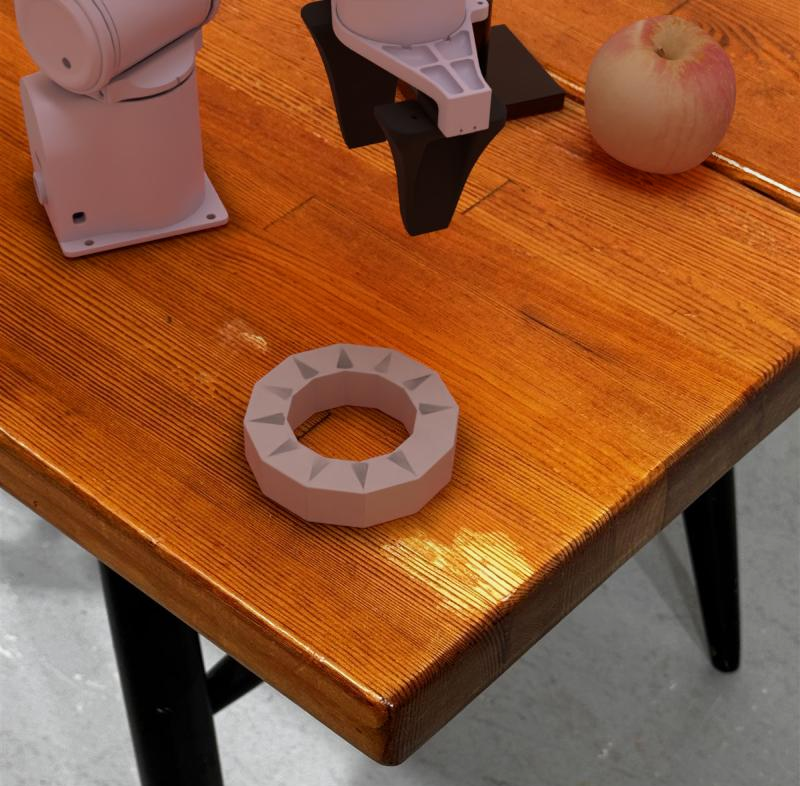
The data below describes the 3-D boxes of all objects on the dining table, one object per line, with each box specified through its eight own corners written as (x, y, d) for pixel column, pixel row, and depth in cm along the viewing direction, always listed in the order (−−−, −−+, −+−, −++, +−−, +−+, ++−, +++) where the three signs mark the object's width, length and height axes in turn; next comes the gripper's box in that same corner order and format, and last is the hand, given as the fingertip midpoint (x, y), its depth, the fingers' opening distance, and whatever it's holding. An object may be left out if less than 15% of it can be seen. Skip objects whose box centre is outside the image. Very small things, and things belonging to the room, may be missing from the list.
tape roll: (288, 550, 66) (287, 515, 65) (221, 407, 73) (219, 372, 71) (487, 493, 69) (491, 458, 67) (406, 360, 75) (408, 325, 74)
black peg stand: (433, 136, 90) (438, 45, 85) (379, 62, 95) (381, -26, 91) (563, 109, 92) (575, 19, 88) (503, 39, 98) (511, -49, 93)
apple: (655, 102, 93) (676, -15, 87) (751, 171, 88) (780, 52, 82) (547, 142, 90) (562, 23, 84) (640, 216, 85) (662, 95, 79)
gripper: (569, -23, 58) (535, 251, 68) (421, -168, 67) (410, 92, 77) (406, 8, 56) (396, 285, 66) (277, -146, 65) (285, 118, 75)
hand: (395, 183), depth 71 cm, fingers open, 7 cm apart
